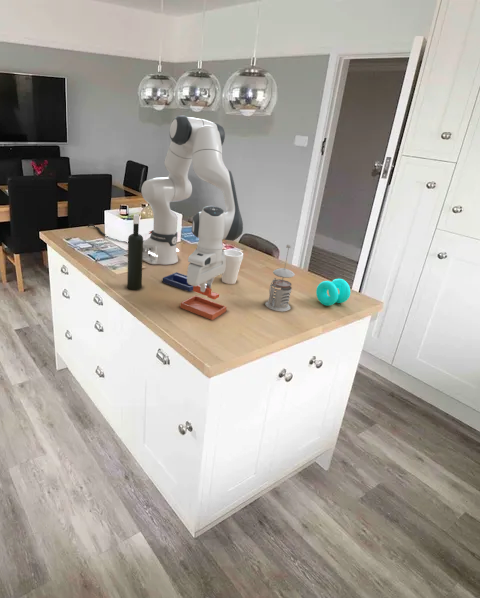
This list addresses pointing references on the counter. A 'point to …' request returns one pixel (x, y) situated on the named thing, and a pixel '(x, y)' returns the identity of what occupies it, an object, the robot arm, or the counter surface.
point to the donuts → (333, 292)
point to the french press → (283, 294)
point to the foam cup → (232, 266)
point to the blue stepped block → (181, 279)
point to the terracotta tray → (203, 307)
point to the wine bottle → (135, 257)
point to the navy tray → (170, 281)
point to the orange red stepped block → (206, 292)
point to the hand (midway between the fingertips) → (205, 290)
